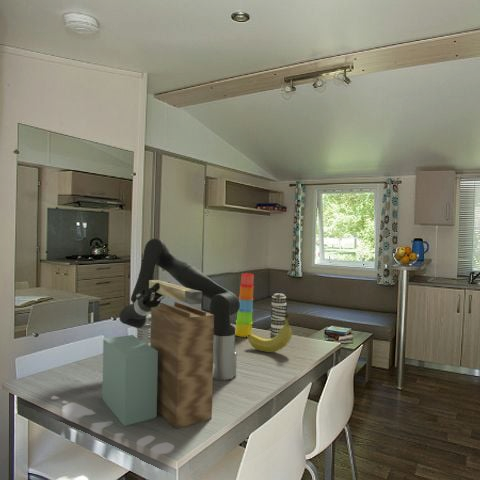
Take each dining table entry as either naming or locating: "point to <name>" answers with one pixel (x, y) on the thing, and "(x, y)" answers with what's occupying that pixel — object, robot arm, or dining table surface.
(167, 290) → the pale wooden beam
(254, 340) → the banana
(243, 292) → the stacking cups
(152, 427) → the dining table surface
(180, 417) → the tall wooden block
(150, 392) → the pale teal block
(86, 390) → the dining table surface
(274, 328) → the decorative candle
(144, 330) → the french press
